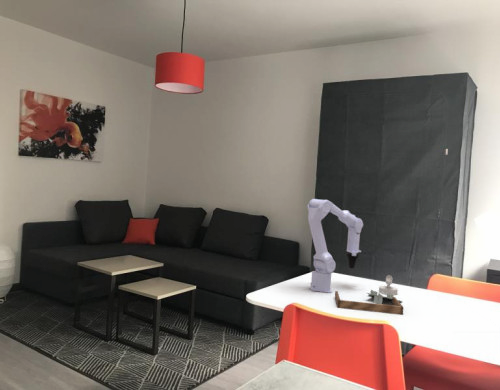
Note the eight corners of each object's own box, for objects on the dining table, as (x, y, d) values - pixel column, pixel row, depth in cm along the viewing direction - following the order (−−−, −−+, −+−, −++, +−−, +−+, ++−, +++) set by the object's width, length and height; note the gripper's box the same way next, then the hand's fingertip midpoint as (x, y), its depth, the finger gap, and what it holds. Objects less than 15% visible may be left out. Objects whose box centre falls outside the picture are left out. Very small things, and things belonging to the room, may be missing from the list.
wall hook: (380, 274, 200) (380, 271, 210) (378, 294, 200) (379, 289, 210) (398, 276, 197) (398, 273, 207) (397, 296, 198) (397, 292, 207)
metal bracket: (396, 294, 179) (362, 287, 187) (394, 308, 177) (359, 300, 186) (403, 298, 190) (371, 291, 198) (401, 310, 189) (369, 303, 197)
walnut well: (337, 307, 172) (338, 300, 171) (334, 297, 187) (335, 291, 187) (402, 314, 168) (403, 307, 168) (394, 303, 184) (395, 297, 184)
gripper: (363, 243, 201) (361, 271, 202) (359, 240, 216) (357, 266, 216) (348, 242, 202) (346, 270, 203) (345, 239, 217) (344, 264, 217)
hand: (351, 268), depth 209 cm, fingers closed
